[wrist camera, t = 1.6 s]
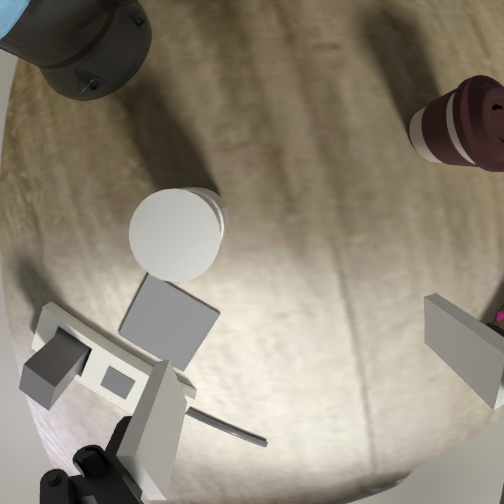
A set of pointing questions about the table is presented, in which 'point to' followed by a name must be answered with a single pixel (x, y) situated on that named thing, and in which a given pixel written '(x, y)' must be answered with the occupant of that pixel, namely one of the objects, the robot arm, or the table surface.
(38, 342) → the power strip
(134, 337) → the mat
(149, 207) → the grey ribbed canister
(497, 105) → the coffee cup
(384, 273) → the table surface
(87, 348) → the block
